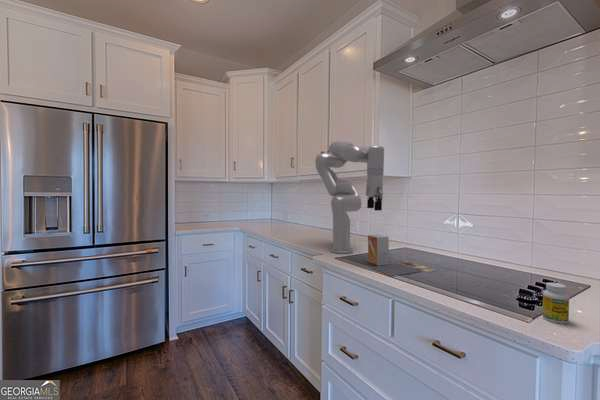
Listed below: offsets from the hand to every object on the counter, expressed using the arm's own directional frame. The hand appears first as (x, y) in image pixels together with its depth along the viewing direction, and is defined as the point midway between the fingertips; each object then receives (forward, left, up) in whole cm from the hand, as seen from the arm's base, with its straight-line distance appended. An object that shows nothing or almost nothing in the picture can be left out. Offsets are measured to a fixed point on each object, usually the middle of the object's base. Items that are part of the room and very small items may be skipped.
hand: (374, 209), depth 138 cm
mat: (+14, +1, -26) cm, 29 cm away
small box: (+3, +1, -26) cm, 26 cm away
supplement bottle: (+69, +8, -26) cm, 74 cm away
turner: (+15, +13, -26) cm, 32 cm away
